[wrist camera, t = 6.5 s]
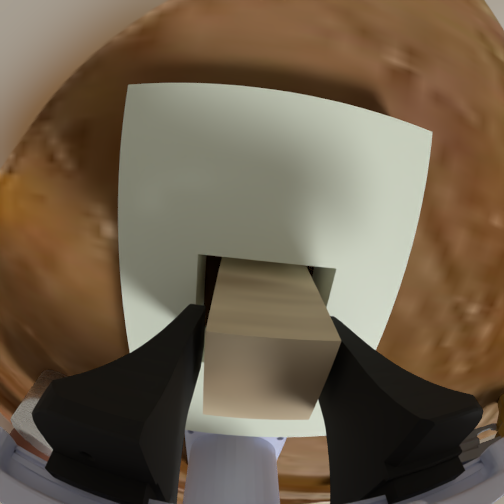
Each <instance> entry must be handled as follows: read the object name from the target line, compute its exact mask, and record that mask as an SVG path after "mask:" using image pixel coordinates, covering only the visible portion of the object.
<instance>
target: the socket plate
mask: <svg viewBox="0 0 504 504" xmlns="http://www.w3.org/2000/svg"><path fill="white" fill-rule="evenodd" d="M431 142H432V132H431V131H428V130H426V129H423V128H421V127H418V126H416V125H413V124H410V123H407V122H405V121H402V120H399V119H396V118H393V117H390V116H387V115H384V114H381V113H377V112H374V111H371V110H367V109H364V108H360V107H356V106H353V105H349V104H345V103H341V102H337V101H332V100H328V99H324V98H319V97H314V96H309V95H304V94H298V93H292V92H286V91H280V90H273V89H266V88H258V87H248V86H238V85H226V84H208V83H148V84H131V85H128V90H127V96H126V103H125V110H124V118H123V127H122V137H121V148H120V162H119V183H118V243H119V263H120V278H121V289H122V300H123V309H124V317H125V325H126V332H127V338H128V345H129V351H130V353H131V352H132V351H134V350H136V349H137V348H139V347H140V346H142V345H143V344H145V343H146V342H148V341H149V340H150V339H152V338H153V337H154V336H155V335H157V334H158V333H159V332H160V331H162V330H163V329H164V328H165V327H166V326H167V325H168V324H169V323H171V322H172V321H173V320H174V319H175V318H176V317H177V316H178V315H179V314H180V313H181V312H182V311H183V310H184V309H185V308H186V307H187V306H188V305H189V304H197V305H204V291H205V273H206V257H207V255H212V256H221V257H230V258H239V259H249V260H258V261H267V262H277V263H287V264H296V265H306V266H315V267H314V271H313V276H312V279H313V281H314V283H315V285H316V287H317V289H318V291H319V294H320V296H321V298H322V300H323V302H324V304H325V306H326V308H327V310H328V313H329V315H330V316H334V317H336V318H337V319H338V320H340V321H341V322H342V323H343V324H344V325H346V326H347V327H348V328H349V329H350V330H351V331H353V332H354V333H355V334H356V335H357V336H358V337H360V338H361V339H362V340H363V341H364V342H366V343H367V344H368V345H369V346H371V347H372V348H373V349H374V350H376V348H377V346H378V344H379V341H380V339H381V336H382V334H383V331H384V329H385V326H386V324H387V321H388V319H389V316H390V313H391V311H392V308H393V305H394V302H395V299H396V297H397V294H398V291H399V288H400V285H401V282H402V278H403V275H404V272H405V269H406V265H407V262H408V258H409V255H410V251H411V248H412V244H413V240H414V236H415V232H416V228H417V224H418V219H419V215H420V210H421V206H422V201H423V195H424V190H425V184H426V179H427V172H428V166H429V158H430V151H431ZM205 331H206V326H205ZM204 353H205V335H204V350H203V357H202V363H201V369H200V372H199V376H198V379H197V383H196V386H195V390H194V393H193V397H192V400H191V404H190V407H189V411H188V416H187V420H186V426H185V430H190V431H197V432H205V433H214V434H224V435H236V436H253V437H309V436H326V429H325V424H324V419H323V415H322V411H321V408H320V404H319V401H317V403H316V405H315V407H314V410H313V412H312V414H311V416H310V418H309V420H269V419H247V418H234V417H223V416H213V415H205V414H203V382H204Z"/></svg>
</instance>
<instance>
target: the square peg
mask: <svg viewBox="0 0 504 504" xmlns="http://www.w3.org/2000/svg"><path fill="white" fill-rule="evenodd" d="M340 344H341V339H340V337H339V334H338V332H337V330H336V328H335V326H334V323H333V321H332V319H331V317H330V315H329V313H328V310H327V308H326V306H325V304H324V302H323V300H322V298H321V296H320V294H319V291H318V289H317V287H316V285H315V283H314V281H313V279H312V277H311V275H310V273H309V271H308V269H307V267H306V265H296V264H287V263H277V262H267V261H258V260H249V259H239V258H230V257H222V259H221V263H220V267H219V272H218V276H217V281H216V285H215V290H214V294H213V299H212V303H211V308H210V312H209V317H208V322H207V326H206V331H205V353H204V382H203V414H205V415H213V416H223V417H234V418H247V419H269V420H309V418H310V416H311V414H312V412H313V410H314V407H315V405H316V403H317V401H318V398H319V396H320V394H321V392H322V389H323V387H324V384H325V382H326V380H327V377H328V375H329V372H330V370H331V367H332V365H333V362H334V360H335V357H336V354H337V352H338V349H339V346H340Z"/></svg>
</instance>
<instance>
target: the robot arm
mask: <svg viewBox="0 0 504 504" xmlns="http://www.w3.org/2000/svg"><path fill="white" fill-rule="evenodd" d="M205 311H206V306H205V305H197V304H189V305H188V306H187V307H186V308H185V309H184V310H183V311H182V312H181V313H180V314H179V315H178V316H177V317H176V318H175V319H174V320H173V321H172V322H171V323H169V324H168V325H167V326H166V327H165V328H164V329H163V330H162V331H160V332H159V333H158V334H157V335H155V336H154V337H153V338H152V339H150V340H149V341H148V342H146V343H145V344H143V345H142V346H140V347H139V348H137V349H136V350H134V351H132V352H131V353H129V354H127V355H125V356H123V357H121V358H119V359H117V360H115V361H113V362H111V363H109V364H106V365H104V366H101V367H99V368H96V369H93V370H90V371H87V372H84V373H81V374H77V375H73V376H69V377H65V378H60V379H55V380H52V382H51V383H50V384H49V386H48V387H47V388H46V390H45V391H44V393H43V395H42V396H41V398H40V399H39V401H38V403H37V404H36V406H35V407H34V409H33V411H32V418H33V421H34V423H35V425H36V427H37V429H38V430H39V432H40V433H41V434H42V436H43V437H44V438H45V440H46V441H47V443H48V444H49V445H50V447H51V448H52V449H53V451H52V453H51V455H50V457H49V460H48V462H47V461H45V460H43V459H41V458H39V457H38V456H36V455H34V454H32V453H30V452H29V451H27V450H25V449H23V448H22V447H20V446H18V445H17V444H16V442H15V441H14V439H13V438H12V437H11V436H10V435H9V434H8V433H7V432H6V431H5V430H4V429H3V428H2V427H0V502H1V503H2V504H177V493H178V481H179V472H180V463H181V455H182V447H183V440H184V433H185V442H186V450H187V458H188V470H187V477H186V484H185V491H184V498H183V504H280V499H279V486H278V474H277V462H276V461H277V459H278V457H279V454H280V452H281V450H282V447H283V445H284V443H285V441H286V438H287V437H253V436H236V435H224V434H214V433H205V432H197V431H190V430H185V426H186V420H187V416H188V411H189V407H190V404H191V400H192V397H193V393H194V390H195V386H196V383H197V379H198V376H199V372H200V369H201V363H202V357H203V350H204V335H205ZM330 317H331V319H332V321H333V323H334V326H335V328H336V330H337V332H338V334H339V337H340V339H341V344H340V346H339V349H338V352H337V354H336V357H335V360H334V362H333V365H332V367H331V370H330V372H329V375H328V377H327V380H326V382H325V384H324V387H323V389H322V392H321V394H320V396H319V398H318V401H319V404H320V408H321V411H322V415H323V419H324V424H325V429H326V437H327V444H328V454H329V465H330V504H493V503H495V502H496V501H497V500H499V499H500V498H501V497H502V496H504V437H503V438H501V439H499V440H498V441H496V442H494V443H493V444H492V445H490V446H489V447H488V448H487V449H486V450H485V451H484V452H483V453H482V454H481V455H480V457H478V458H476V459H474V460H472V461H470V462H468V463H466V464H464V465H463V464H462V462H461V460H460V458H459V455H460V454H461V453H462V449H461V447H460V444H461V443H462V442H463V441H464V440H465V439H466V437H467V436H468V435H469V434H470V433H471V432H472V431H473V430H474V428H475V427H476V426H477V425H478V423H479V422H480V420H481V418H482V414H483V409H482V408H481V406H480V405H479V403H478V402H477V400H476V399H475V397H474V396H473V395H471V394H466V393H462V392H458V391H454V390H451V389H447V388H445V387H442V386H439V385H436V384H434V383H431V382H429V381H426V380H424V379H422V378H420V377H418V376H416V375H414V374H412V373H410V372H408V371H406V370H404V369H403V368H401V367H399V366H398V365H396V364H394V363H393V362H391V361H390V360H388V359H387V358H385V357H384V356H383V355H381V354H380V353H378V352H377V351H376V350H374V349H373V348H372V347H371V346H369V345H368V344H367V343H366V342H364V341H363V340H362V339H361V338H360V337H358V336H357V335H356V334H355V333H354V332H353V331H351V330H350V329H349V328H348V327H347V326H346V325H344V324H343V323H342V322H341V321H340V320H338V319H337V318H336V317H334V316H330Z"/></svg>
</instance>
